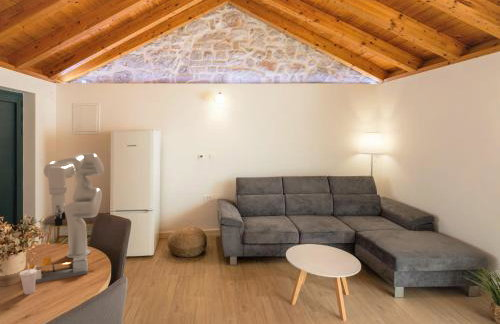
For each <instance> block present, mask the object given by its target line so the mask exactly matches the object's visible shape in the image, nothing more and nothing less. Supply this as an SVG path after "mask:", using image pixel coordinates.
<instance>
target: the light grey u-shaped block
mask: <svg viewBox="0 0 500 324" xmlns="http://www.w3.org/2000/svg"><path fill="white" fill-rule="evenodd" d="M42 266H43V265H42ZM37 267H41V266H39V265H38V264H34V268H33V269H36V270H37ZM42 276H43V274H41V270H37V273H36V280H37V279H41V278H42Z"/></svg>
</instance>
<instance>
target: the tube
mask: <svg viewBox="0 0 500 324" xmlns="http://www.w3.org/2000/svg"><path fill="white" fill-rule="evenodd" d="M69 269H73V261H69V262H68V261H67V262H62V263H56V264H55V263H54V264H52V265H48V266H41V267H37V270H41V274H45V273H51V272H57V271H63V270H69Z"/></svg>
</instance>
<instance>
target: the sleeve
mask: <svg viewBox="0 0 500 324" xmlns="http://www.w3.org/2000/svg"><path fill="white" fill-rule="evenodd" d="M72 262H73V273H77V272H83V271H87V266H88V255H86V256H79V257H74V258H72Z"/></svg>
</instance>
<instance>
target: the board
mask: <svg viewBox="0 0 500 324" xmlns="http://www.w3.org/2000/svg"><path fill="white" fill-rule="evenodd" d="M88 269H89V265H87V271H83V272H77V273H73V269H69V270H63V271H57V272H51V273H45V274H43V276H42V278H41V279H37V280H35V284H36V283H41V282H48V281H54V280H58V279H64V278H71V277H76V276H77V277H78V276H82V275H88Z"/></svg>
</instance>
